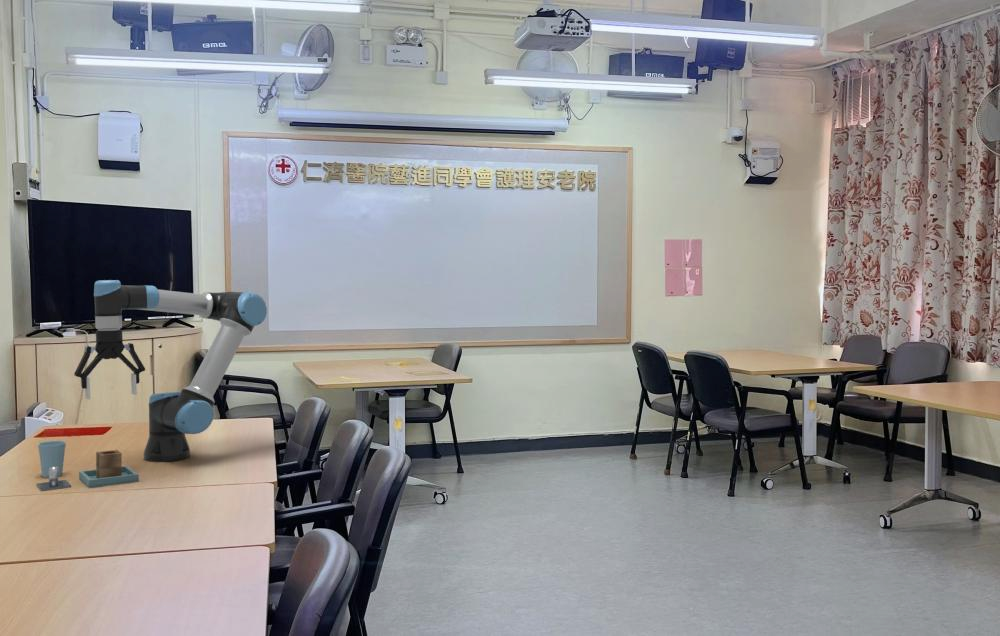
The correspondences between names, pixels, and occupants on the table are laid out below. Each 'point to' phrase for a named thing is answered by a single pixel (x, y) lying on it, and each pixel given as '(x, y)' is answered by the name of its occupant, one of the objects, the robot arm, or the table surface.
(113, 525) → the table surface
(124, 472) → the tray
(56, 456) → the cup
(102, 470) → the bored block
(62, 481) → the knob mounting plate
